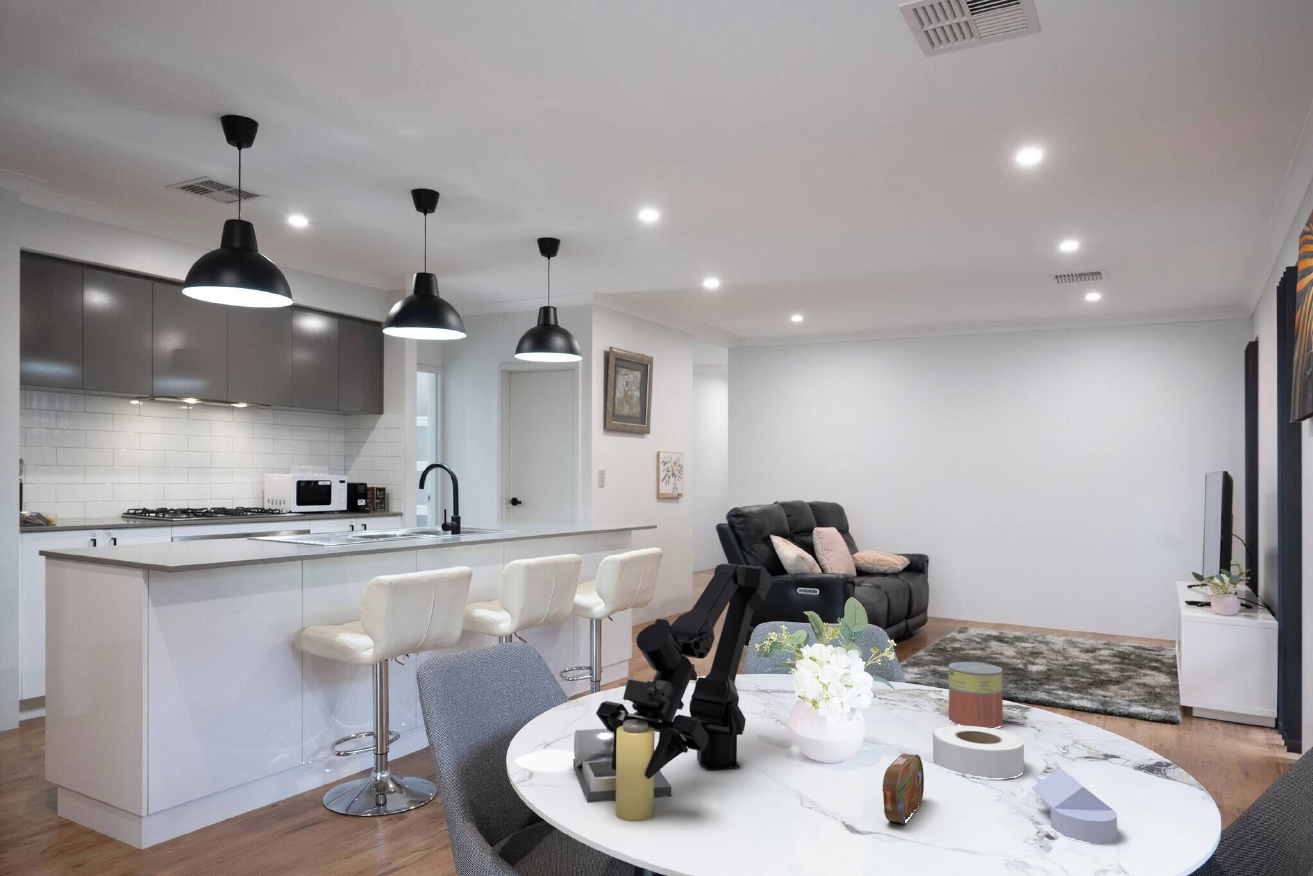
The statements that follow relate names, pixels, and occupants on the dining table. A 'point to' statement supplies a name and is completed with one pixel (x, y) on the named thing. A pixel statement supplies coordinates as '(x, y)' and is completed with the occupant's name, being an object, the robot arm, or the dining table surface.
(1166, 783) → the dining table surface
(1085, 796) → the wedge on round base
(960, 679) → the canned food
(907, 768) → the tin
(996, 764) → the roll of tape
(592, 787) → the motor mount
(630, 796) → the bottle
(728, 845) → the dining table surface
